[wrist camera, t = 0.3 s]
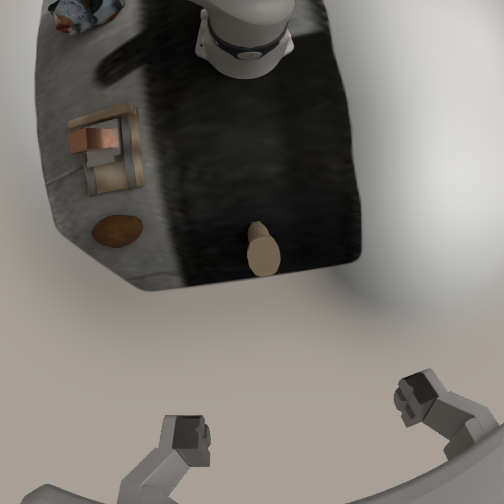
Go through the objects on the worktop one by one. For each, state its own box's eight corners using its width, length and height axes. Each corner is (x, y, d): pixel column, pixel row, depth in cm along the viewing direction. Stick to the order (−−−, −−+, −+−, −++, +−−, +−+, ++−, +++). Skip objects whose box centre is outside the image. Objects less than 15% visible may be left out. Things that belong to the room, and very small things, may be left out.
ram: (91, 127, 44) (59, 126, 33) (122, 119, 44) (95, 114, 33) (94, 166, 47) (63, 173, 36) (126, 159, 47) (99, 164, 36)
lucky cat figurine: (130, 15, 36) (82, 20, 26) (94, 39, 40) (49, 50, 30) (117, -30, 26) (71, -32, 17) (83, -5, 31) (38, 1, 21)
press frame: (83, 122, 44) (67, 121, 38) (137, 107, 44) (126, 103, 39) (90, 194, 50) (76, 200, 44) (144, 185, 50) (134, 190, 45)
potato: (151, 235, 54) (141, 247, 48) (106, 246, 55) (92, 259, 48) (142, 204, 52) (130, 213, 45) (96, 218, 52) (81, 227, 46)
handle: (266, 211, 54) (277, 234, 40) (270, 241, 56) (281, 273, 43) (242, 214, 54) (244, 239, 40) (246, 244, 56) (251, 278, 43)
